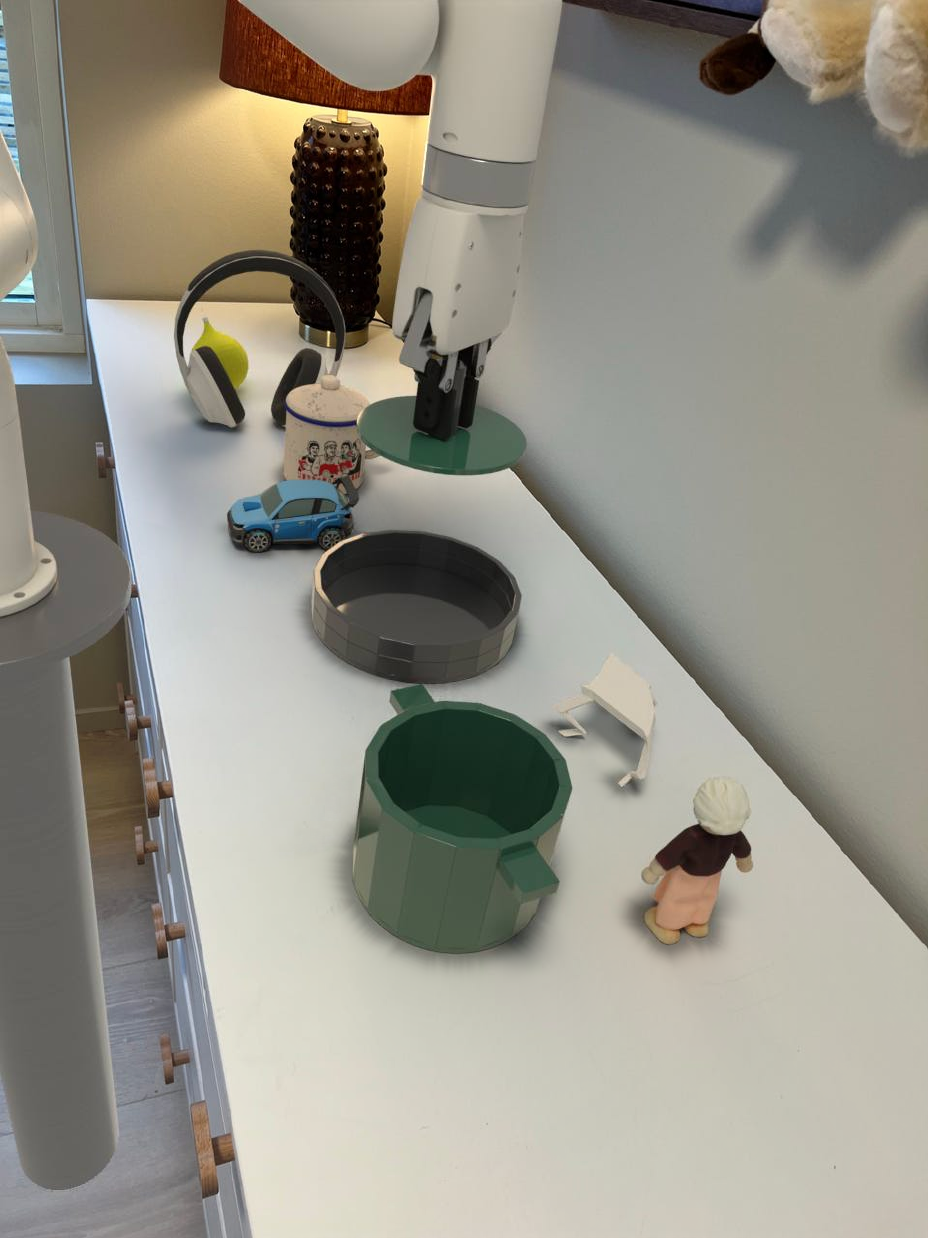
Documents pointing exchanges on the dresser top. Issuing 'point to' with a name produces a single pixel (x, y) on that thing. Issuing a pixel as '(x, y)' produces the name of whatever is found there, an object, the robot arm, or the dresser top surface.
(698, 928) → the grandmother figurine
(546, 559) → the dresser top surface
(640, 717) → the origami figure
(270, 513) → the toy car
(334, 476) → the teacup with lid
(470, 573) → the pan
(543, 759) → the pot
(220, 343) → the yellow-green teardrop shape
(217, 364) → the headphones
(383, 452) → the lid
